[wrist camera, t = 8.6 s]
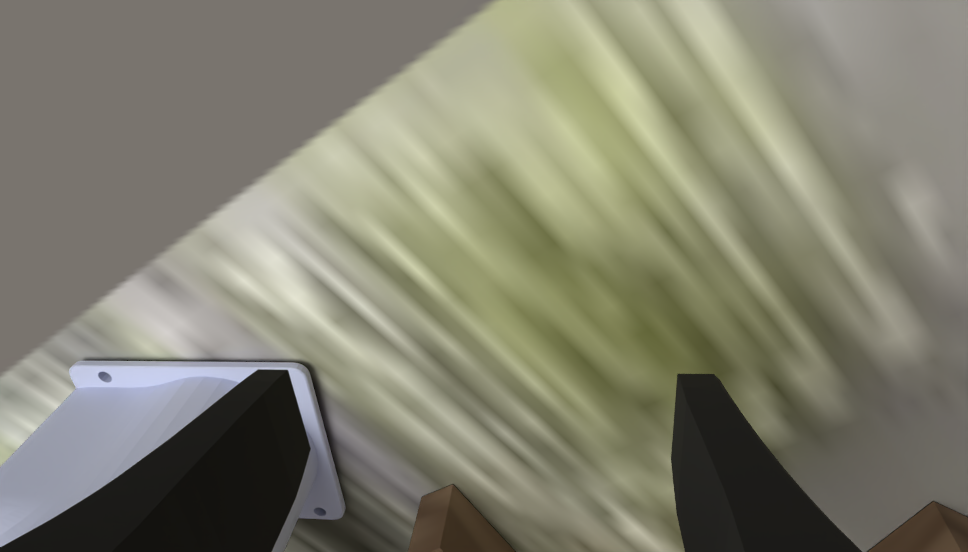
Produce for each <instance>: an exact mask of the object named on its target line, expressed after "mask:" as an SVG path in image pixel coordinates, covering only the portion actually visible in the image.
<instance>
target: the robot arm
mask: <svg viewBox="0 0 968 552" xmlns="http://www.w3.org/2000/svg"><path fill="white" fill-rule="evenodd" d="M69 373H70V377H71V379H72V381H73V383H74V385H75V387H76V389H75V390H74V391H73V392H72V393H71V394H70V395H69V396H68V397H67V398H66V399H65V400H64V402H63V403H62V404H61V405H60V406H59V407H58V408H57V409H56V410H55V411H54V412H53V413H52V414H51V415H50V416H49V417H48V418H47V419H46V420H45V421H44V422H43V423H42V424H41V425H40V426H39V427H38V428H37V429H36V430H35V431H34V432H33V434H32V435H31V436H30V437H29V438H28V439H27V440H26V441H25V442H24V443H23V444H22V445H21V446H20V447H19V448H18V449H17V450H16V451H15V452H14V453H13V454H12V455H11V456H10V457H9V458H8V459H7V460H6V461H5V462H4V463H3V464H2V466H1V467H0V552H284V550H285V548H286V545H287V543H288V541H289V539H290V536H291V534H292V532H293V529H294V527H295V525H296V522H297V520H298V518H305V519H328V520H336V519H340V518H342V516H343V515H344V512H345V509H346V506H345V502H344V499H343V495H342V491H341V487H340V484H339V480H338V476H337V472H336V469H335V465H334V461H333V458H332V454H331V450H330V446H329V443H328V439H327V435H326V432H325V428H324V424H323V420H322V417H321V413H320V409H319V405H318V402H317V398H316V394H315V391H314V387H313V383H312V379H311V376H310V373H309V371H308V369H307V368H306V367H305V366H303V365H301V364H299V363H294V362H188V361H77V362H76V363H75V364H74V365H73V366H72V367H71V368H70V370H69ZM109 374H110V375H109ZM671 462H672V473H673V483H674V492H675V501H676V510H677V516H678V521H679V526H680V530H681V535H682V539H683V544H684V548H685V552H862V551H861V550H860V549H859V548H858V547H857V546H856V545H855V544H854V543H853V542H852V541H851V540H850V539H849V538H847V537H846V536H845V535H844V534H843V533H842V532H841V531H840V530H839V529H838V528H837V527H836V526H835V525H834V523H833V522H832V521H831V520H830V519H829V518H828V517H827V516H826V515H825V514H824V513H823V512H822V511H821V510H820V509H819V508H818V507H817V505H816V504H815V503H814V502H813V501H812V500H811V499H810V498H809V497H808V495H807V494H806V493H805V492H804V491H803V490H802V489H801V488H800V487H799V485H798V484H797V483H796V482H795V481H794V480H793V478H792V477H791V476H790V475H789V474H788V472H787V471H786V470H785V469H784V468H783V466H782V465H781V464H780V463H779V461H778V460H777V459H776V458H775V456H774V455H773V454H772V453H771V451H770V450H769V449H768V448H767V446H766V445H765V444H764V443H763V441H762V440H761V439H760V437H759V436H758V435H757V433H756V432H755V431H754V429H753V428H752V427H751V425H750V424H749V423H748V421H747V420H746V418H745V417H744V416H743V414H742V413H741V411H740V410H739V408H738V407H737V406H736V404H735V403H734V401H733V400H732V398H731V397H730V395H729V394H728V392H727V391H726V389H725V387H724V386H723V384H722V383H721V381H720V380H719V379H718V378H717V377H716V376H715V375H714V374H678V375H677V388H676V402H675V415H674V428H673V441H672V455H671Z"/></svg>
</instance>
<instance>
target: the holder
mask: <svg viewBox="0 0 968 552" xmlns="http://www.w3.org/2000/svg"><path fill="white" fill-rule="evenodd" d="M408 552H515V551H514V550H513V549H512V548H511V546H510V545H509V544H508V543H507V542H506V541H505V540H504V539H503V538H502V537H501V536H500V535H499V533H498V532H497V531H496V530H495V529H494V528H493V527H492V526H491V525H490V524H489V523H488V522H487V521H486V519H485V518H484V517H483V516H482V515H481V514H480V513H479V512H478V511H477V510H476V509H475V508H474V507H473V505H472V504H471V503H470V502H469V501H468V500H467V499H466V498H465V497H464V496H463V495H462V494H461V493H460V491H459V490H458V489H457V488H456V487H455V486H454V485H450V486H448V487H445V488H443V489H440V490H438V491H435V492H433V493H430V494H428V495H425V496H423V497H422V498H421V502H420V506H419V510H418V514H417V518H416V522H415V526H414V530H413V533H412V537H411V541H410V545H409V549H408ZM868 552H968V517H966V516H964V515H962V514H960V513H958V512H955V511H953V510H951V509H949V508H947V507H945V506H943V505H940V504H938V503H936V502H934V501H933V502H932V503H931V504H929V505H928V506H927V507H925V508H924V509H923V510H921V511H920V512H919V513H917V514H916V515H915V516H914V517H912V518H911V519H910V520H908V521H907V522H906V523H904V524H903V525H902V526H901V527H899V528H898V529H897V530H895V531H894V532H893V533H891V534H890V535H889V536H888V537H886V538H885V539H884V540H882V541H881V542H880V543H878V544H877V545H876V546H875V547H873V548H872V549H871V550H869V551H868Z"/></svg>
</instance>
